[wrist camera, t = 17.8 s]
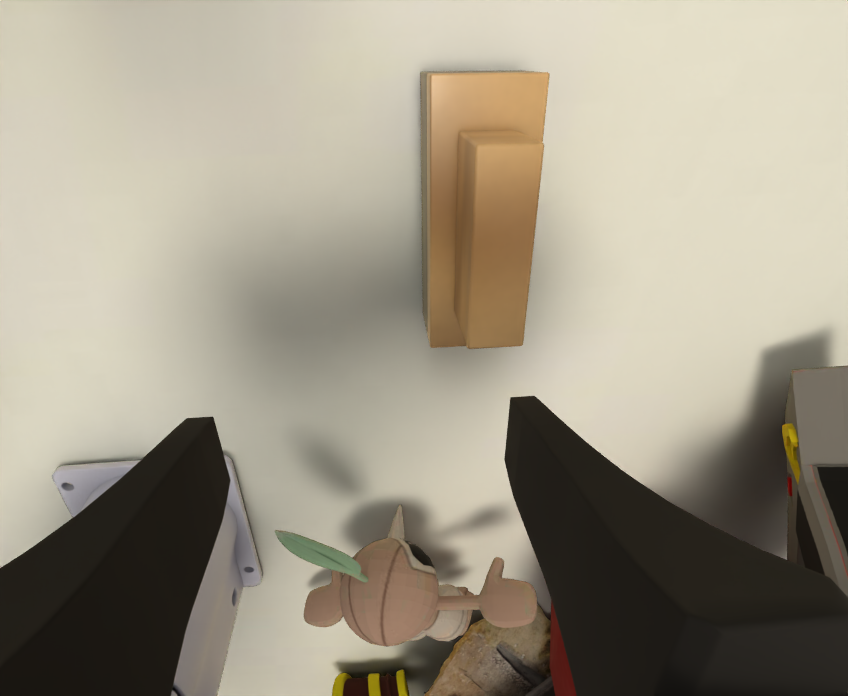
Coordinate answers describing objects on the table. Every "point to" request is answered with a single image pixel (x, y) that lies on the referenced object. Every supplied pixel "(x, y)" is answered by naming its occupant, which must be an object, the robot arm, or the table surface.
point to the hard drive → (543, 689)
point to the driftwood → (497, 660)
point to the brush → (479, 202)
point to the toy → (404, 592)
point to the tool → (818, 471)
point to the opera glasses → (371, 685)
